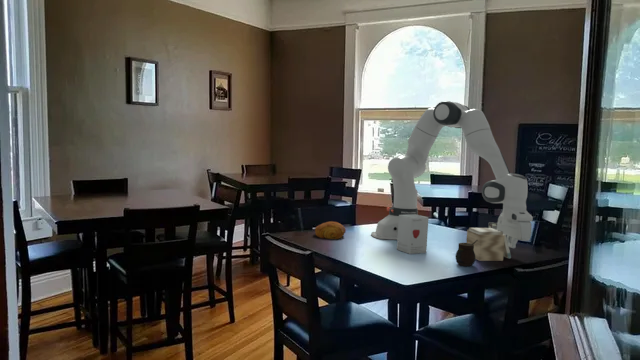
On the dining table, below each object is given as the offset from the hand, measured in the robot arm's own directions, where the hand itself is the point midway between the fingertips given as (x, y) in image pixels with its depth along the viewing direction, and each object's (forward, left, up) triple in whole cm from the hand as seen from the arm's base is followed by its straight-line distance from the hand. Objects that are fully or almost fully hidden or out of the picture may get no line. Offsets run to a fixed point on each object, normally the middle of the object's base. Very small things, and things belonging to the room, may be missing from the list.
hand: (511, 247), depth 205 cm
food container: (+5, +22, -4) cm, 23 cm away
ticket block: (-12, 0, -4) cm, 12 cm away
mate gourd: (-26, -13, -4) cm, 29 cm away
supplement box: (-39, +10, -4) cm, 40 cm away
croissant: (-68, +42, -5) cm, 80 cm away
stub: (-5, 0, +1) cm, 5 cm away
